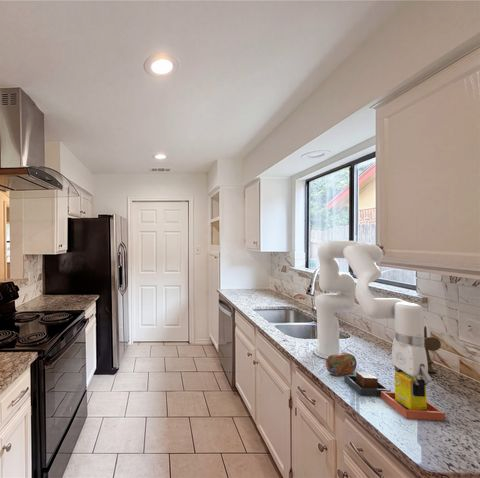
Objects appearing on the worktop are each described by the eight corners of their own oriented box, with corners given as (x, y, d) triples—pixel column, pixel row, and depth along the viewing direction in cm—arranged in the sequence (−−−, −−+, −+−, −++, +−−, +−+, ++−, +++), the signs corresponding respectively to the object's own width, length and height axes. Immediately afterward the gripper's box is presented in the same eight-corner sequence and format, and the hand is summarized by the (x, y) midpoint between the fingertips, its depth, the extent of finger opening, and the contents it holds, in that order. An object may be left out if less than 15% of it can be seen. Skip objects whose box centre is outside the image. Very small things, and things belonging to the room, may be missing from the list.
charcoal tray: (344, 380, 111) (344, 374, 111) (371, 382, 110) (371, 376, 110) (360, 395, 100) (360, 388, 100) (391, 397, 99) (390, 390, 99)
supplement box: (410, 401, 96) (409, 371, 96) (427, 412, 90) (427, 379, 90) (394, 401, 95) (393, 371, 95) (410, 412, 89) (410, 380, 89)
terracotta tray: (380, 397, 99) (380, 391, 99) (415, 399, 97) (414, 392, 97) (406, 418, 87) (405, 410, 87) (445, 420, 86) (445, 413, 86)
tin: (331, 377, 114) (330, 357, 114) (324, 373, 117) (324, 354, 117) (357, 372, 118) (357, 353, 118) (350, 369, 121) (350, 350, 121)
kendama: (425, 374, 115) (424, 329, 115) (411, 365, 124) (410, 322, 125) (442, 376, 113) (441, 330, 114) (427, 366, 123) (426, 323, 123)
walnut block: (356, 383, 108) (355, 371, 108) (369, 384, 107) (369, 372, 107) (364, 390, 103) (363, 377, 103) (377, 391, 102) (377, 378, 102)
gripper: (379, 330, 102) (380, 376, 102) (418, 348, 84) (419, 404, 84) (401, 330, 101) (402, 377, 101) (444, 349, 84) (445, 406, 83)
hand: (410, 389), depth 92 cm, fingers closed on supplement box, 6 cm apart
